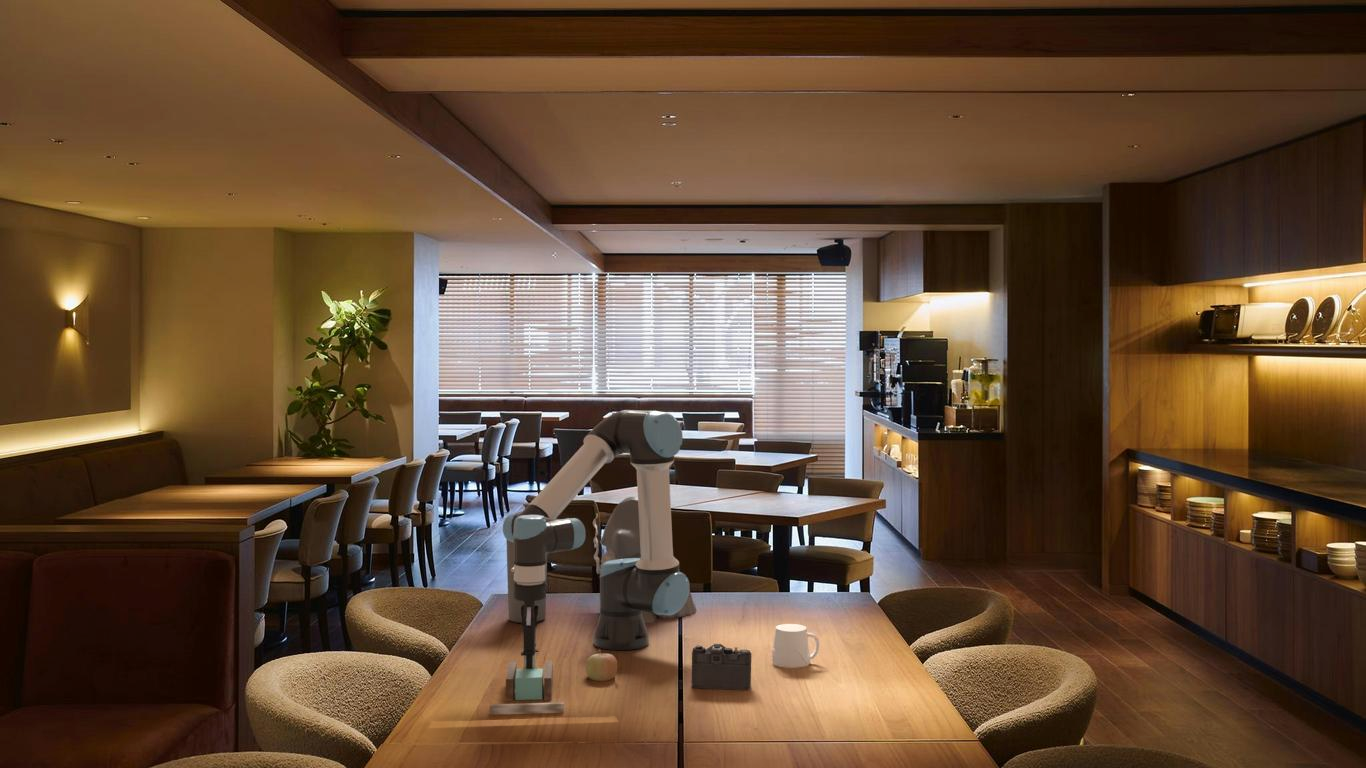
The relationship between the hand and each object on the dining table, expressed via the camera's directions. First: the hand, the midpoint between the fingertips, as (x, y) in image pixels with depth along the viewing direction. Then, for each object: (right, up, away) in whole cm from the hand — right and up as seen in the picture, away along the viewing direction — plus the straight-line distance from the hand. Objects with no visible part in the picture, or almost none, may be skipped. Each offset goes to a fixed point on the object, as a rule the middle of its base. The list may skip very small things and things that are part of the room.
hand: (529, 681), depth 253 cm
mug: (+65, -2, +24) cm, 70 cm away
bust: (+23, -1, +82) cm, 85 cm away
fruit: (+16, -3, +9) cm, 19 cm away
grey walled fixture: (+1, -3, -6) cm, 7 cm away
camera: (+45, -3, +7) cm, 46 cm away
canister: (-11, -1, +69) cm, 70 cm away
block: (+1, -2, -5) cm, 6 cm away
